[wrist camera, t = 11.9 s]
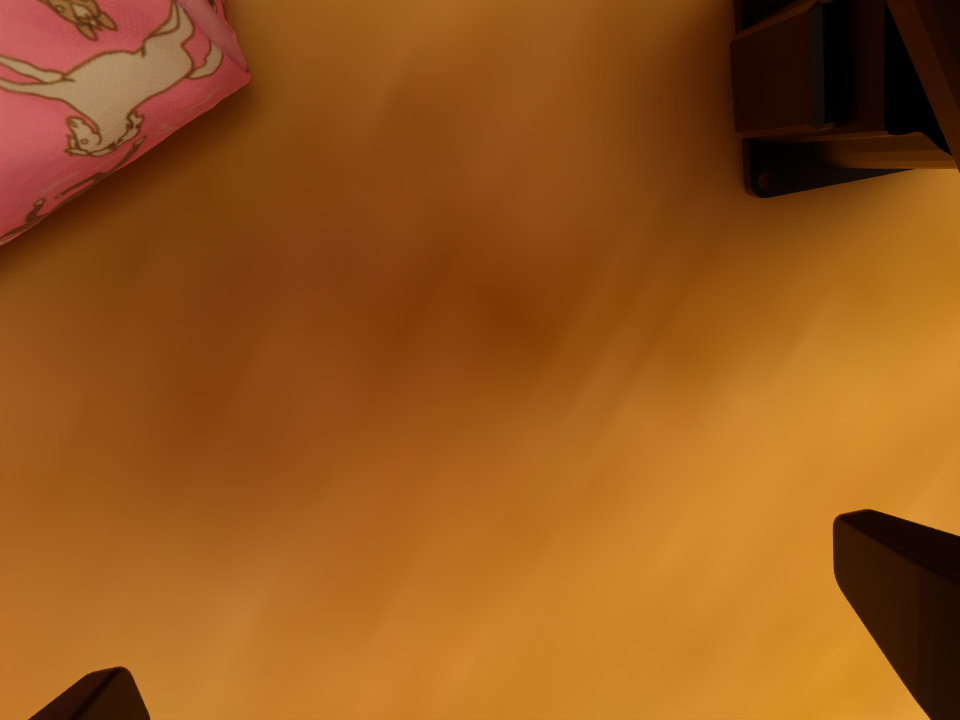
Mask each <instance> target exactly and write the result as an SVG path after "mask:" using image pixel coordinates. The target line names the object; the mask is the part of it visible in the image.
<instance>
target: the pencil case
mask: <svg viewBox="0 0 960 720" xmlns="http://www.w3.org/2000/svg"><path fill="white" fill-rule="evenodd" d="M250 77H251V73H250V70H249V68H248V66H247V64H246V59H245V56H244V53H243V51H242V49H241V48H240V46H239V44H238V40H237V36H236V34H235V32H234V31H233V30H232V29H231V28H230V26H229V24H228V22H227V20H226V19H225V1H224V0H0V246H1V245H3V244H5V243H7V242H9V241H11V240H12V239H14V238H15V237H17V236H18V235H20V234H22V233H23V232H25V231H26V230H28V229H29V228H31V227H32V226H34V225H35V224H37V223H38V222H40V221H41V220H43V219H44V218H46V217H47V216H48V215H50V214H51V213H52V212H54V211H55V210H57V209H58V208H59V207H61V206H62V205H63V204H65V203H67V202H69V201H71V200H73V199H75V198H76V197H78V196H80V195H81V194H83V193H84V192H86V191H87V190H89V189H90V188H91V187H93V186H94V185H95V184H97V183H98V182H100V181H101V180H103V179H104V178H106V177H107V176H109V175H111V174H112V173H114V172H115V171H117V170H119V169H121V168H122V167H124V166H126V165H127V164H129V163H131V162H132V161H134V160H136V159H137V158H138V157H140V156H141V155H143V154H144V153H146V152H147V151H148V150H150V149H151V148H153V147H154V146H156V145H157V144H158V143H160V142H161V141H162V140H164V139H165V138H167V137H168V136H169V135H171V134H172V133H174V132H175V131H176V130H178V129H179V128H181V127H182V126H184V125H185V124H187V123H189V122H190V121H192V120H193V119H195V118H196V117H198V116H200V115H202V114H204V113H205V112H207V111H209V110H211V109H213V108H214V107H215V106H216V105H217V104H218V103H219V102H220V101H221V100H223V99H224V98H226V97H228V96H229V95H231V94H233V93H234V92H235V91H237V90H238V89H240V88H241V87H243V86H244V85H246V84H247V83H248V82H249V81H250Z"/></svg>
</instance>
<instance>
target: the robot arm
mask: <svg viewBox="0 0 960 720" xmlns="http://www.w3.org/2000/svg"><path fill="white" fill-rule="evenodd" d="M734 11H735V29H736V36H735V37H734V39H733V40H732V42H731V44H730V53H731V70H732V87H733V103H734V120H735V131H736V133H737V134H739V135H740V136H741V137H742V153H743V170H744V185H745V189H746V191H747V192H748V193H749V195H751V196H753V197H758V198H769V197H774V196H779V195H785V194H790V193H795V192H800V191H805V190H810V189H815V188H820V187H825V186H830V185H835V184H840V183H846V182H851V181H856V180H861V179H866V178H871V177H876V176H881V175H886V174H891V173H896V172H902V171H907V170H912V169H958V170H959V172H960V0H734ZM763 173H765V174H767V176H768V183H767V185H766V186H765V187H764V188H761V187H760V186H759V183H758V182H759V178H760V176H761V175H762V174H763ZM833 561H834V574H835V578H836V581H837V583H838V585H839V588H840V589H841V591H842V593H843V594H844V596H845V597H846V599H847V600H848V602H849V603H850V605H851V606H852V607H853V609H854V610H855V612H856V613H857V615H858V616H859V618H860V619H861V621H862V622H863V624H864V625H865V627H866V628H867V630H868V631H869V633H870V634H871V636H872V637H873V639H874V640H875V642H876V643H877V645H878V646H879V648H880V649H881V651H882V652H883V654H884V655H885V657H886V658H887V660H888V661H889V663H890V664H891V666H892V667H893V669H894V670H895V671H896V673H897V674H898V676H899V677H900V679H901V680H902V682H903V683H904V685H905V686H906V688H907V689H908V690H909V692H910V693H911V695H912V696H913V697H914V699H915V700H916V702H917V703H918V704H919V705H920V707H921V708H922V709H923V710H924V712H925V713H926V714H927V716H928V717H929V718H930V719H931V720H960V536H957V535H954V534H951V533H948V532H944V531H941V530H938V529H934V528H931V527H928V526H925V525H921V524H918V523H915V522H911V521H908V520H905V519H901V518H898V517H895V516H892V515H888V514H885V513H882V512H878V511H875V510H871V509H863V510H858V511H853V512H849V513H844V514H840V515H838V516H837V517H836V518H835V520H834V523H833ZM28 720H150V716H149V713H148V711H147V708H146V706H145V704H144V701H143V699H142V697H141V695H140V692H139V690H138V688H137V685H136V683H135V681H134V679H133V676H132V674H131V673H130V671H129V670H128V669H126V668H125V667H114V668H109V669H104V670H99V671H95V672H91V673H89V674H87V675H85V676H84V677H83V678H81V679H80V680H79V681H77V682H76V683H75V684H74V685H72V686H71V687H70V688H68V689H67V690H66V691H65V692H63V693H62V694H61V695H59V696H58V697H57V698H55V699H54V700H53V701H52V702H50V703H49V704H48V705H46V706H45V707H44V708H43V709H41V710H40V711H39V712H37V713H36V714H35V715H34V716H32V717H31V718H30V719H28Z"/></svg>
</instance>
